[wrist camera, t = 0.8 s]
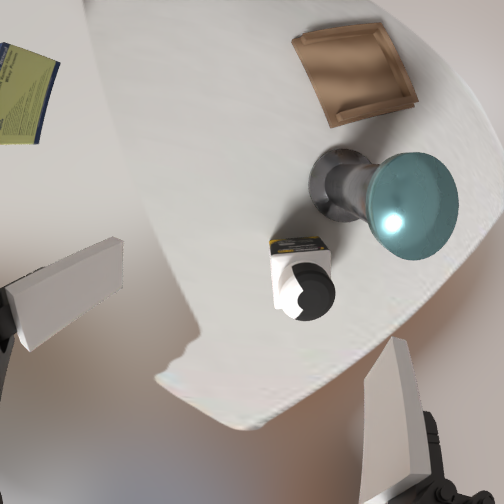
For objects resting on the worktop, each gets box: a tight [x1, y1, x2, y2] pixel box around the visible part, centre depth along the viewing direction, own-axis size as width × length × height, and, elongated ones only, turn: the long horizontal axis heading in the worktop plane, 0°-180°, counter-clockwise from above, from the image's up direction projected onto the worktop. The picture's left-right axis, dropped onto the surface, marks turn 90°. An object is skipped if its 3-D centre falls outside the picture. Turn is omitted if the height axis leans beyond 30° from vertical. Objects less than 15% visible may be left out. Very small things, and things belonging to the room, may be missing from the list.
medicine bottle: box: [269, 236, 335, 321], centre depth 34 cm, size 7×7×12 cm
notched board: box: [291, 23, 419, 128], centre depth 30 cm, size 14×14×4 cm
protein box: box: [0, 42, 60, 145], centre depth 25 cm, size 10×16×16 cm
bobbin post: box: [308, 149, 459, 260], centre depth 27 cm, size 10×10×20 cm
